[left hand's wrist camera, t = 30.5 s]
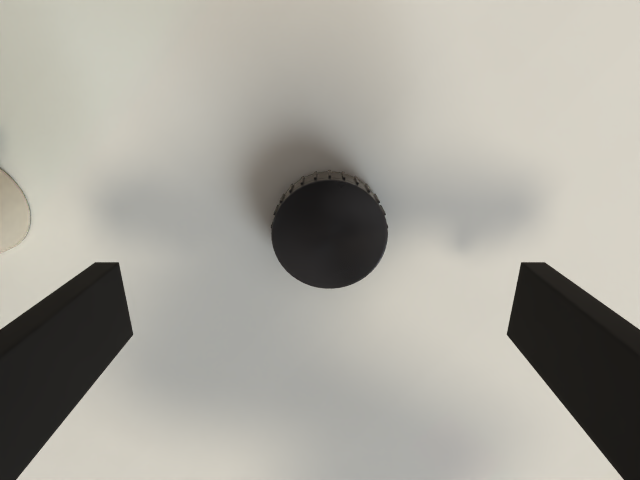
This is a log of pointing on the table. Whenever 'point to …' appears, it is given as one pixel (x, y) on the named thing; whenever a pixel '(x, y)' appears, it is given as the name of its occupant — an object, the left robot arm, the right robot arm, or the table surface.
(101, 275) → the left robot arm
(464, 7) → the table surface
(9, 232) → the jar
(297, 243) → the lid
